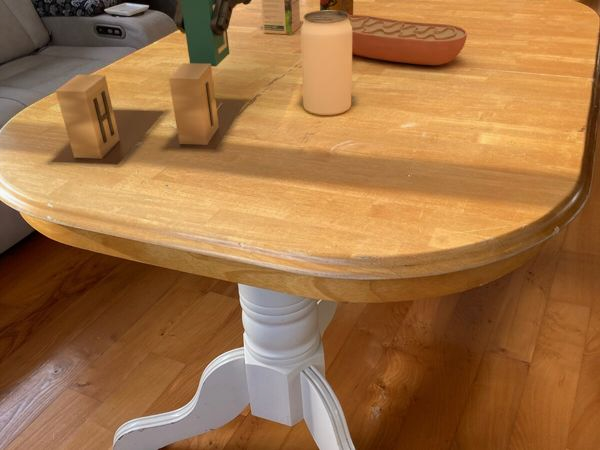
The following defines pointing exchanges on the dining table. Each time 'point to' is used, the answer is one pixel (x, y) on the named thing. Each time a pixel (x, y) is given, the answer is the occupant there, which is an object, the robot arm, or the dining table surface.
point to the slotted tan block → (199, 108)
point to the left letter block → (98, 123)
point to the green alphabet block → (203, 33)
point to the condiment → (337, 5)
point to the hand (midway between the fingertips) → (199, 30)
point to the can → (326, 62)
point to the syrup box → (280, 16)
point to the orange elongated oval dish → (405, 40)
